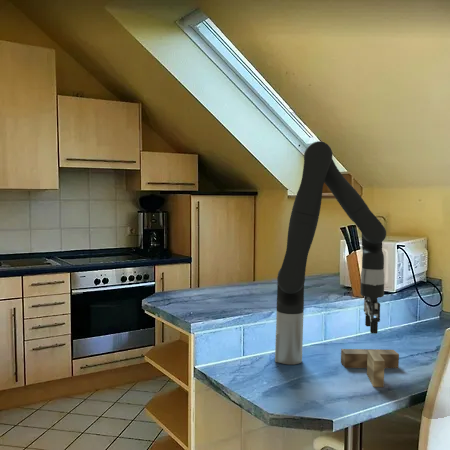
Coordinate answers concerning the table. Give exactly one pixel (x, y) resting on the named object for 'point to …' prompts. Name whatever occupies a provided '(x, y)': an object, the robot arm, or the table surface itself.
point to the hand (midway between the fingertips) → (371, 329)
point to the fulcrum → (375, 368)
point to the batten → (359, 358)
